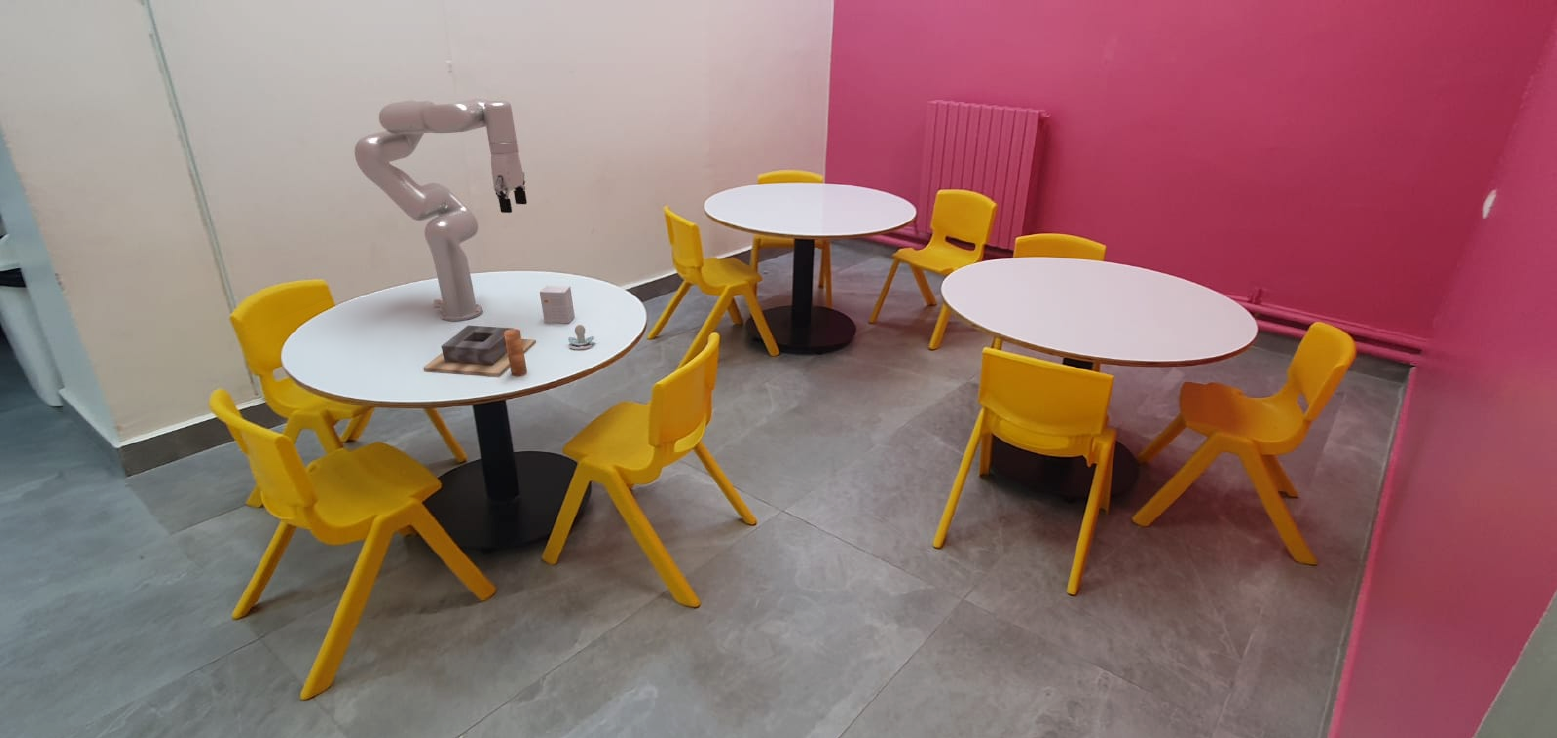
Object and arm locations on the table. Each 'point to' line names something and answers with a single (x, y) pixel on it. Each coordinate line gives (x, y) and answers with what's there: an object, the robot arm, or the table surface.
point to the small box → (557, 304)
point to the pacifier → (580, 339)
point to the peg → (515, 352)
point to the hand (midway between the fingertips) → (514, 208)
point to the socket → (476, 352)
